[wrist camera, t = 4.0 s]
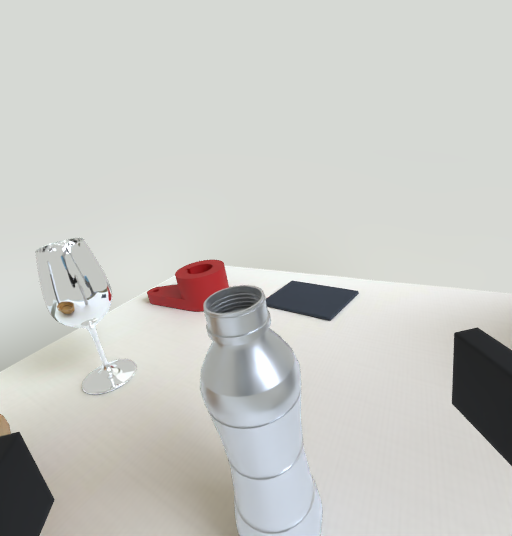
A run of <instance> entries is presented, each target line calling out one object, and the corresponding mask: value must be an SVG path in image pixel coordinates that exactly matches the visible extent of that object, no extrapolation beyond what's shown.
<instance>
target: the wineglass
mask: <svg viewBox="0 0 512 536" xmlns="http://www.w3.org/2000/svg"><path fill="white" fill-rule="evenodd" d="M35 253H36V259H37V267H38V274H39V279H40V284H41V290H42V294H43V297H44V300H45V303H46V307H47V309H48V311H49V312H50V314H51V316H52V317H53V318H54V319H55V320H56V321H58V322H60V323H61V324H63V325H66V326H70V327H74V328H86V329H87V330H88V331H89V333H90V334H91V336H92V338H93V341H94V343H95V346H96V348H97V351H98V353H99V356H100V358H101V361H102V365H101V366H99V367H98V368H96V369H95V370H93V371H92V372H91V373H89V374H88V375H87V377H86V378H85V379H84V381H83V383H82V389H83V391H84V392H85V393H88V394H92V395H94V394H103V393H107V392H110V391H112V390H115V389H117V388H119V387H121V386H122V385H124V384H125V383H126V382H128V381H129V380H130V379H131V378H132V377H133V376H134V374H135V372H136V370H137V365H136V363H135V362H134V361H132V360H129V359H119V360H114V361H111V362H108V361H107V359H106V356H105V353H104V351H103V348H102V346H101V343H100V340H99V337H98V334H97V329H96V324H97V323H98V322H99V321H100V320H101V319H102V318H103V317H104V316H105V315H106V313H107V312H108V310H109V308H110V305H111V302H112V291H111V288H110V284H109V282H108V279H107V277H106V275H105V273H104V271H103V269H102V268H101V266H100V265H99V263H98V261H97V259H96V258H95V256H94V255H93V253H92V251H91V250H90V248H89V247H88V245H87V244H86V242H85V241H84V239H83V238H74V239H68V240H63V241H59V242H55V243H52V244H49V245H46V246H44V247H41V248H39V249H38V250H36V251H35Z"/></svg>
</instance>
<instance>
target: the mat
mask: <svg viewBox="0 0 512 536" xmlns="http://www.w3.org/2000/svg"><path fill="white" fill-rule="evenodd" d="M357 294H358V291H354V290H348V289H342V288H335V287H329V286H323V285H316V284H310V283H304V282H297V281H291V282H290V283H288V284H287V285H285V286H284V287H283V288H281V289H280V290H278V291H277V292H275V293H274V294H273V295H271V296H270V297H268V298H267V299H266V305H267V306H268V307H273V308H277V309H281V310H286V311H290V312H295V313H299V314H303V315H308V316H312V317H316V318H321V319H325V320H331V319H332V318H334V317H335V316H336V315H337V314H338V313H339V312H340V311H341V310H342V309H343V308H344V307H345V306H346V305H347V304H348V303H349V302H350V301H351V300H352V299H353V298H354V297H355V296H356V295H357Z"/></svg>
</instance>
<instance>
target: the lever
mask: <svg viewBox="0 0 512 536" xmlns="http://www.w3.org/2000/svg"><path fill="white" fill-rule="evenodd" d="M175 276H176V279H177V283H178V284H177V285H170V286H162V287H156V288H153V289H151V290H149V291H148V292H147V294H148V297H149V300H150V303H151V304H155V305H160V306H166V307H172V308H177V309H183V310H188V311H204V307H203V305H204V302H205V300H206V299H207V298H208V297H209V296H210V295H212V294H214V293H215V292H217V291H220V290H222V289H225V288H229V285H228V280H227V276H226V271H225V267H224V263H223V262H222V261H219V260H204V261H199V262H195V263H191V264H189V265H186V266H184V267H182V268H181V269H179V270H178V271H177V272H176V274H175Z"/></svg>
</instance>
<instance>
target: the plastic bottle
mask: <svg viewBox="0 0 512 536" xmlns="http://www.w3.org/2000/svg"><path fill="white" fill-rule="evenodd" d="M203 307H204V313H205V317H206V321H207V325H206V328H207V332H208V335H209V337H210V339H211V340H213V342H212V344H211V346H210V348H209V350H208V352H207V354H206V357H205V360H204V362H203V365H202V368H201V378H200V391H201V394H202V397H203V400H204V403H205V406H206V408H207V409H208V412H209V414H210V416H211V418H212V420H213V423H214V425H215V427H216V429H217V431H218V433H219V435H220V437H221V440H222V443H223V446H224V449H225V452H226V455H227V457H228V461H229V464H230V467H231V473H232V480H233V486H234V493H235V496H234V504H235V517H236V525H237V529H238V533H239V535H240V536H320V534H321V525H322V513H323V510H322V502H321V499H320V495H319V492H318V489H317V486H316V483H315V481H314V479H313V477H312V475H311V473H310V469H309V465H308V462H307V458H306V454H305V451H304V445H303V436H302V425H301V374H300V365H299V362H298V360H297V358H296V356H295V354H294V352H293V350H292V349H291V347H290V346H289V345H288V344H287V343H286V342H285V341H284V340H283V339H282V338H281V337H280V336H279V335H278V334H276V333H275V332H274V331H272V330H271V329H270V328H269V327H270V324H271V317H270V313H269V311H268V310H267V305H266V299H265V295H264V293H263V291H262V290H261V289H260V288H258V287H255V286H249V285H240V286H233V287H229V288H225V289H222V290H220V291H217V292H215V293H214V294H212V295H210V296H209V297H208V298H207V299H206V300H205V302H204V305H203Z"/></svg>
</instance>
